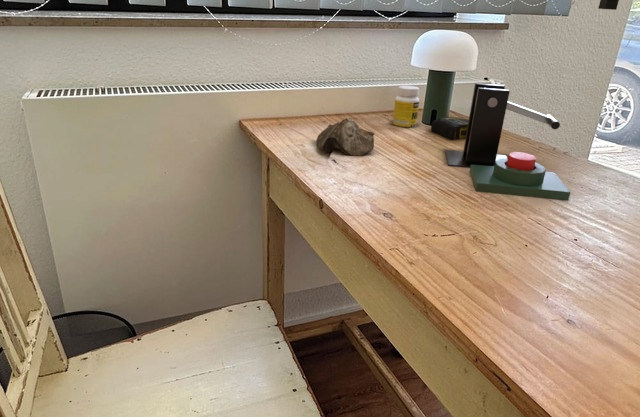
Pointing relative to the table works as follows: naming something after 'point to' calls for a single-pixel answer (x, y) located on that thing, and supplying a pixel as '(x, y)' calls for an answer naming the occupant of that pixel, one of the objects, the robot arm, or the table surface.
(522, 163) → the red button
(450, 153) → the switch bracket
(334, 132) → the fossilized seashell
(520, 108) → the switch lever
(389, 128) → the table surface
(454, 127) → the tape measure
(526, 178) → the button box
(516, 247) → the table surface
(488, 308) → the table surface
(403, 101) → the supplement bottle
